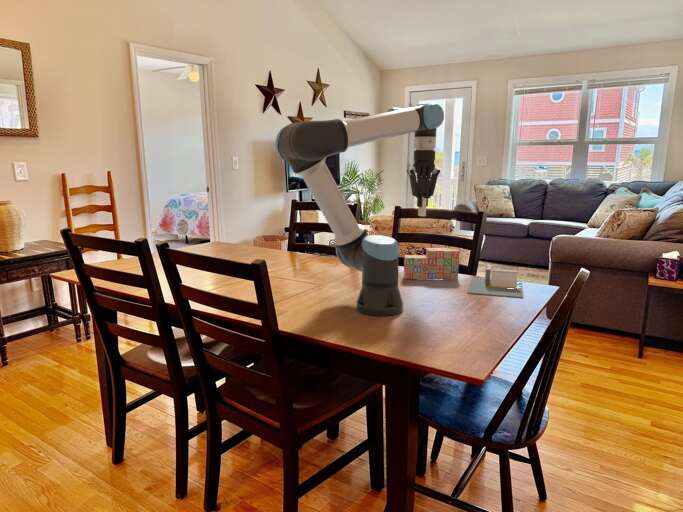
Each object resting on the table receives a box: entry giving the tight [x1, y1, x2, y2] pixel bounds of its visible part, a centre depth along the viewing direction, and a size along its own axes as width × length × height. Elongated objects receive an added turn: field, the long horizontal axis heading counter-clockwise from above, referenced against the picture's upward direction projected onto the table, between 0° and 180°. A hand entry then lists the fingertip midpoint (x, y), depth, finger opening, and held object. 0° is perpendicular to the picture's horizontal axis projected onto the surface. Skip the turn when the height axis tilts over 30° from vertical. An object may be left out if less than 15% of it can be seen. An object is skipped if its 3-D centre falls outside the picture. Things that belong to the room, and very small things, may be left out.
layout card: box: [466, 277, 524, 299], centre depth 180 cm, size 23×19×1 cm
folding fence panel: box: [484, 268, 519, 287], centre depth 180 cm, size 11×2×6 cm, turn 74°
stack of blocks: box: [403, 247, 460, 281], centre depth 194 cm, size 21×6×12 cm, turn 88°
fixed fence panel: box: [486, 263, 492, 270], centre depth 187 cm, size 9×1×7 cm, turn 161°
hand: (421, 215), depth 173 cm, fingers closed
